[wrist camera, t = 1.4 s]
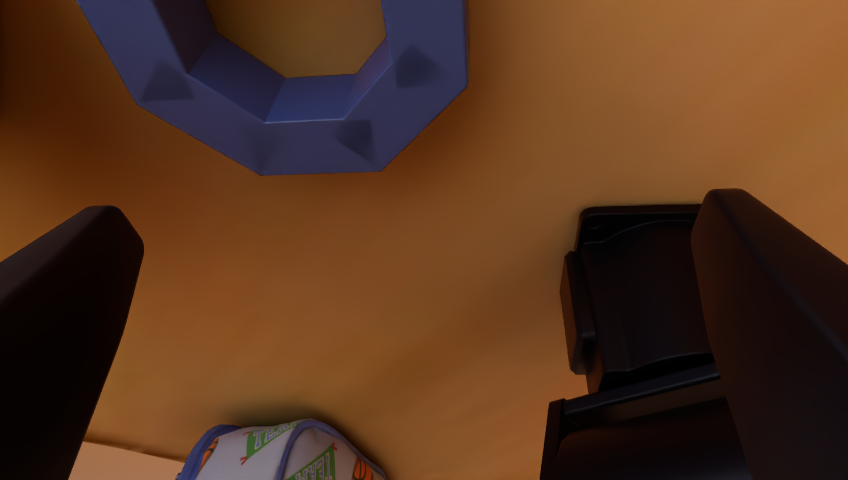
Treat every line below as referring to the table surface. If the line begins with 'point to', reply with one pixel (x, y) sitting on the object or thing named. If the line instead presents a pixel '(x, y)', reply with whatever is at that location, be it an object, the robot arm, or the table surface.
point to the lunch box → (277, 454)
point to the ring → (288, 85)
